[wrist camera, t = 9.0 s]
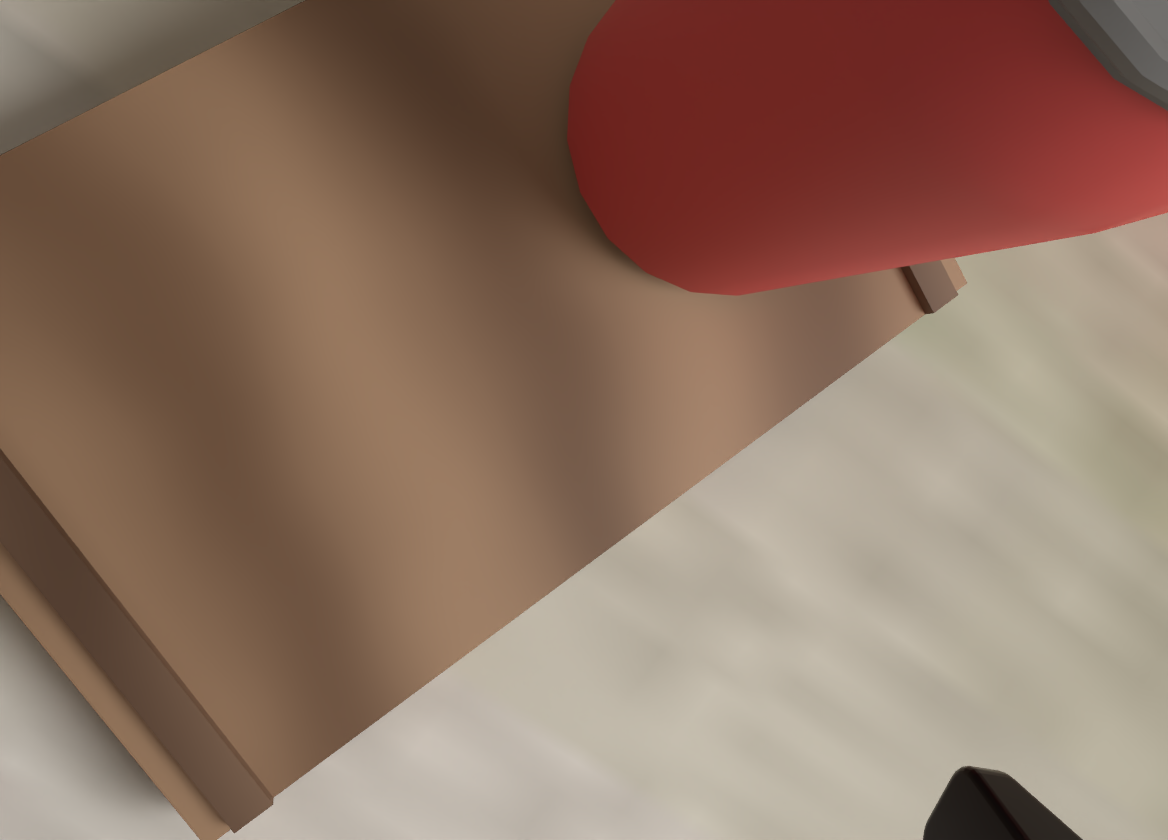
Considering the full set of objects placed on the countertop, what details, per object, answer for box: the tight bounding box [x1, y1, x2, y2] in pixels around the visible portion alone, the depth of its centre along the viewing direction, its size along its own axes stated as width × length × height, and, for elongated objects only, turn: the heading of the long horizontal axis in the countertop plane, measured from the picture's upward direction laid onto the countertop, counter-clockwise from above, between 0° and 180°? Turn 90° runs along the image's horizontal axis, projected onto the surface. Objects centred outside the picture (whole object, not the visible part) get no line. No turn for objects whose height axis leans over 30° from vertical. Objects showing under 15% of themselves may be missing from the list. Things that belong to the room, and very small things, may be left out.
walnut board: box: [0, 0, 967, 840], centre depth 18 cm, size 20×12×2 cm, turn 123°
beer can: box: [567, 0, 1168, 296], centre depth 13 cm, size 7×7×12 cm
